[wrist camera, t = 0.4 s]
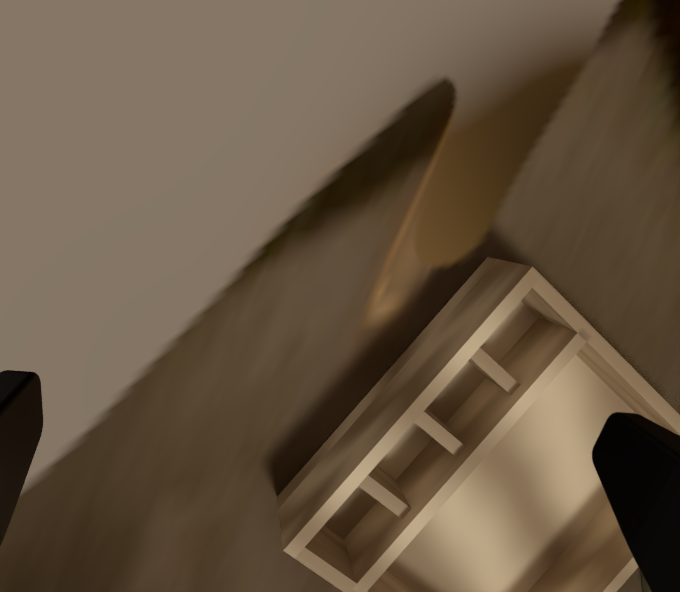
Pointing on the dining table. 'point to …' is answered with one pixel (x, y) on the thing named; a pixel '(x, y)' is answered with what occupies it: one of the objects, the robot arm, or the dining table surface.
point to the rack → (476, 455)
